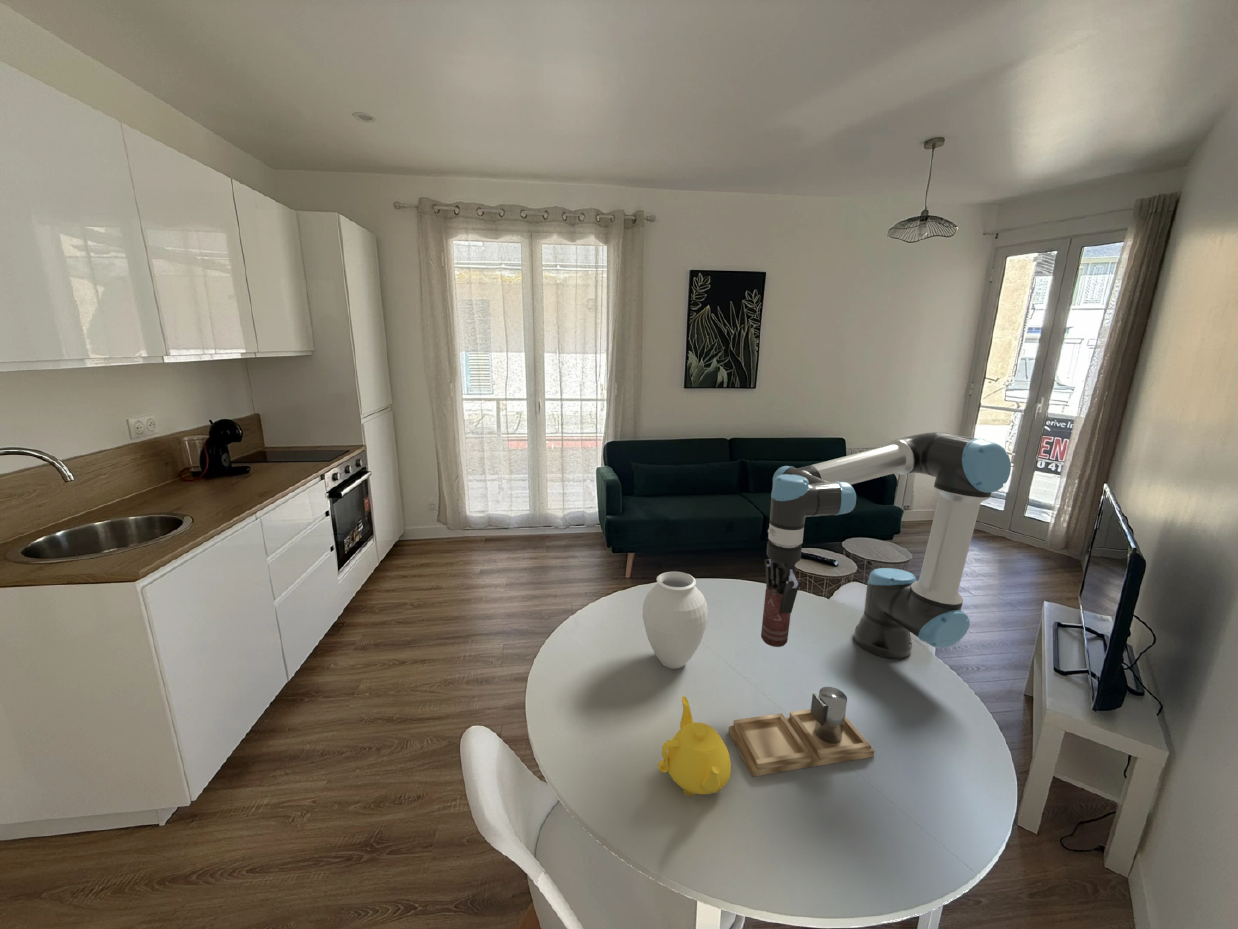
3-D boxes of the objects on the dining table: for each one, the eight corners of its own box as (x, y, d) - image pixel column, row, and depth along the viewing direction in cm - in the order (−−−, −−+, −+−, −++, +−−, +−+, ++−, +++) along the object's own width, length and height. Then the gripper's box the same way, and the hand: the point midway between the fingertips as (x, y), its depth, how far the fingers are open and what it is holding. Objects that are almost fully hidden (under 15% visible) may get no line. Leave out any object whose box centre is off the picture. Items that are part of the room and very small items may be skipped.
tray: (838, 715, 114) (840, 705, 113) (873, 756, 103) (875, 745, 102) (728, 731, 109) (729, 720, 108) (752, 776, 98) (753, 764, 97)
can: (789, 649, 112) (796, 596, 109) (761, 645, 114) (767, 592, 110) (786, 634, 118) (792, 583, 115) (760, 631, 119) (765, 580, 116)
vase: (632, 671, 129) (633, 587, 123) (652, 636, 145) (654, 560, 139) (697, 689, 123) (701, 601, 117) (711, 650, 139) (715, 571, 133)
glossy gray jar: (831, 722, 110) (836, 685, 108) (847, 742, 105) (852, 703, 102) (806, 726, 109) (810, 688, 106) (820, 746, 103) (825, 706, 101)
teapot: (646, 743, 106) (647, 699, 103) (709, 734, 108) (712, 691, 106) (672, 831, 86) (674, 779, 84) (748, 817, 89) (753, 767, 86)
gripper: (756, 532, 115) (749, 619, 121) (784, 554, 103) (774, 651, 108) (785, 530, 117) (776, 617, 122) (815, 552, 104) (805, 647, 110)
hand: (775, 633), depth 115 cm, fingers closed
